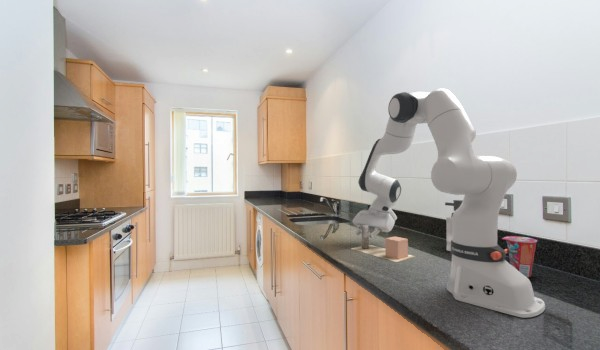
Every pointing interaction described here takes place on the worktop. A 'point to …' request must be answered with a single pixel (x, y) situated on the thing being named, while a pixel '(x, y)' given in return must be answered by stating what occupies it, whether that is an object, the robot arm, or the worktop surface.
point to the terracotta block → (396, 247)
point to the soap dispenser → (449, 222)
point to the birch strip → (374, 247)
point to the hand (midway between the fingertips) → (364, 235)
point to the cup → (521, 253)
